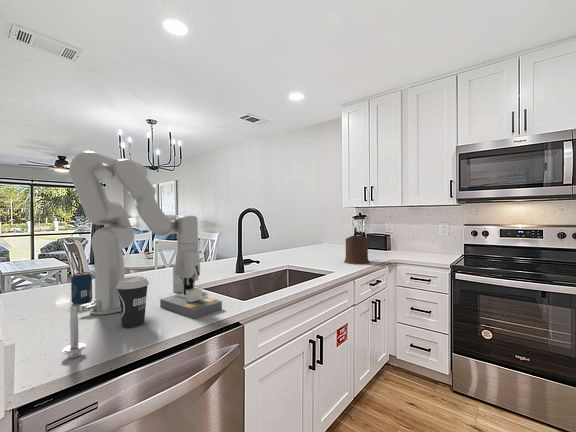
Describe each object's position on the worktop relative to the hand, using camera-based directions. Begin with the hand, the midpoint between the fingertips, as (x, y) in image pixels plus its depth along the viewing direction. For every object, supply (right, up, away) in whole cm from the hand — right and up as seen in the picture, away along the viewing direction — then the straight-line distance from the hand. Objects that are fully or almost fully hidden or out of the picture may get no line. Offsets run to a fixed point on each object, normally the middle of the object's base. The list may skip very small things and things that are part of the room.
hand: (188, 294), depth 109 cm
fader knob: (+3, -1, -2) cm, 4 cm away
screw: (-16, -6, -37) cm, 41 cm away
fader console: (+1, -5, -1) cm, 5 cm away
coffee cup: (-13, -6, -16) cm, 21 cm away
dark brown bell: (+89, -4, +99) cm, 133 cm away
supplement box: (-11, -5, +24) cm, 27 cm away
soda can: (-46, -6, +7) cm, 47 cm away
